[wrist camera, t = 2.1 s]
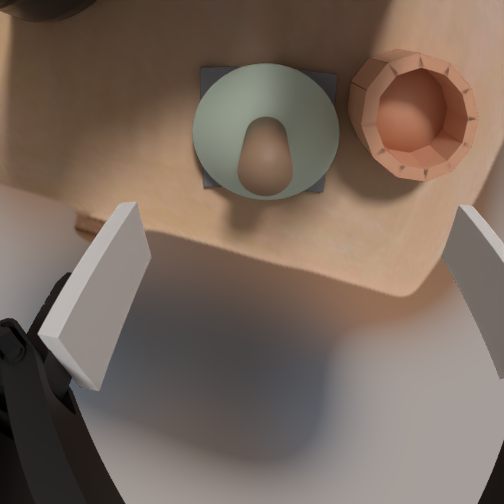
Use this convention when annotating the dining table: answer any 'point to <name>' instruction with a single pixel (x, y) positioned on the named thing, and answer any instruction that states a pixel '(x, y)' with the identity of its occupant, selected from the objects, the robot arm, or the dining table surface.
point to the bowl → (413, 113)
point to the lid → (266, 131)
